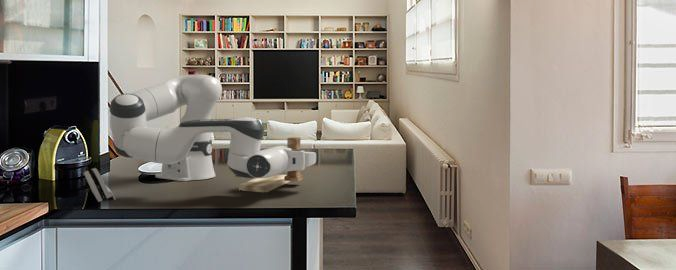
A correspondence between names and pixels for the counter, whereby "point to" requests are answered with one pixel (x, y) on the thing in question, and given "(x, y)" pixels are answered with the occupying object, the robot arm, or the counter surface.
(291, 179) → the brown wooden block tower
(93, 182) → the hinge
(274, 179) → the board
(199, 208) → the counter surface
